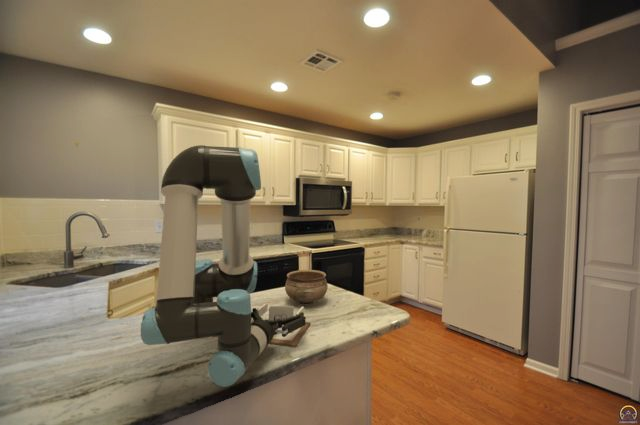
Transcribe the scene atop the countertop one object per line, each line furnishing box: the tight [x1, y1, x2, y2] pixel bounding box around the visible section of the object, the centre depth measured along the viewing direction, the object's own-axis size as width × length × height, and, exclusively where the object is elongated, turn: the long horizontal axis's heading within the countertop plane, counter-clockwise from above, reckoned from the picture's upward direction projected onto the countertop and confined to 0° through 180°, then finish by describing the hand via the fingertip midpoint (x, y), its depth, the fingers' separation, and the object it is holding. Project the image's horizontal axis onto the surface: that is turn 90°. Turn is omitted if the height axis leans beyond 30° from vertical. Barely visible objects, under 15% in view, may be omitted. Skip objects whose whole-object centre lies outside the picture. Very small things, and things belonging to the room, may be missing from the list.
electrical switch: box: [268, 305, 295, 325], centre depth 89 cm, size 8×5×8 cm, turn 91°
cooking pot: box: [284, 269, 328, 305], centre depth 117 cm, size 25×19×12 cm
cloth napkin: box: [267, 318, 311, 348], centre depth 89 cm, size 16×16×1 cm
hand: (284, 308), depth 92 cm, fingers open, 13 cm apart
